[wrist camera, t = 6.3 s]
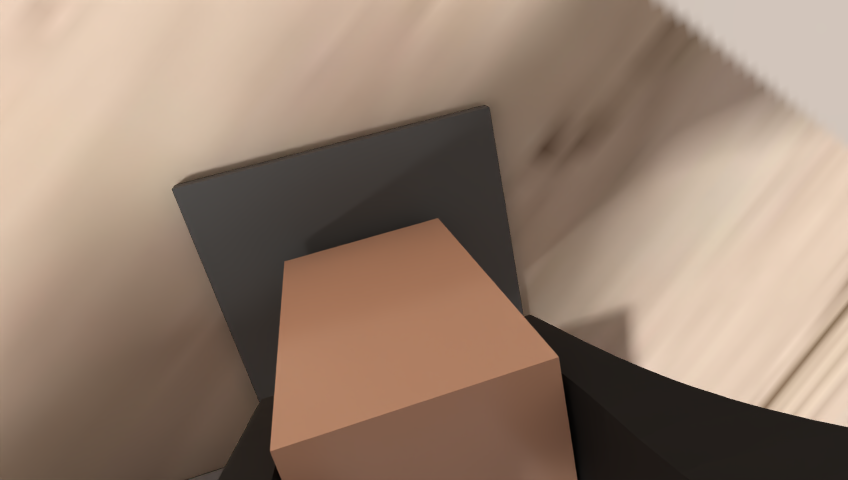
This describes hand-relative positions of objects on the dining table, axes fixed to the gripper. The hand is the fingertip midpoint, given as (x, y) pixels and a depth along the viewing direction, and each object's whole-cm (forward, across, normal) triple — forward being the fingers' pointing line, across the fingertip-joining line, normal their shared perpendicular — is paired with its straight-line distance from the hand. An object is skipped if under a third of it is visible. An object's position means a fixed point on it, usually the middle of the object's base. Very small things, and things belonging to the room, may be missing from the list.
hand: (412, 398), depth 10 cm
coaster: (+5, 0, 0) cm, 5 cm away
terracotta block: (+4, 0, 0) cm, 4 cm away
